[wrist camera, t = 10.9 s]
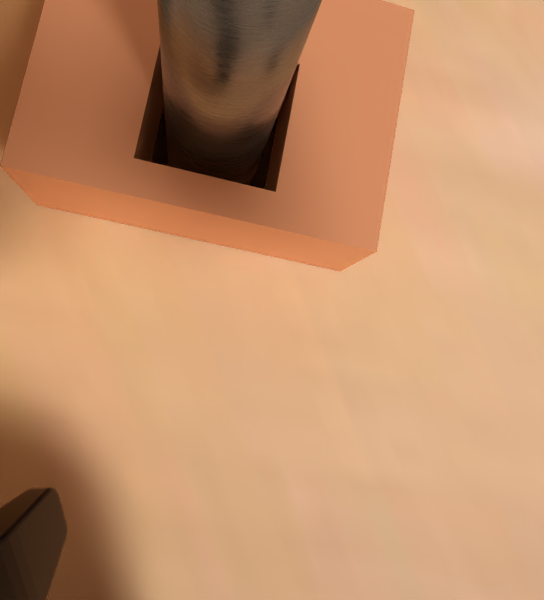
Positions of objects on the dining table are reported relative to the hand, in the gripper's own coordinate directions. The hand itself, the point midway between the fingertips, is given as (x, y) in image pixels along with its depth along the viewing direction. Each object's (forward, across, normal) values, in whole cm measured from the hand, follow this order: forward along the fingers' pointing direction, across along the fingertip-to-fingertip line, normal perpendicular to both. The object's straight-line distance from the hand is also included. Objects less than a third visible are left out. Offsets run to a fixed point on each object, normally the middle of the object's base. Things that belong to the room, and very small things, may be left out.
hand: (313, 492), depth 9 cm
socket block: (+14, +3, -6) cm, 16 cm away
